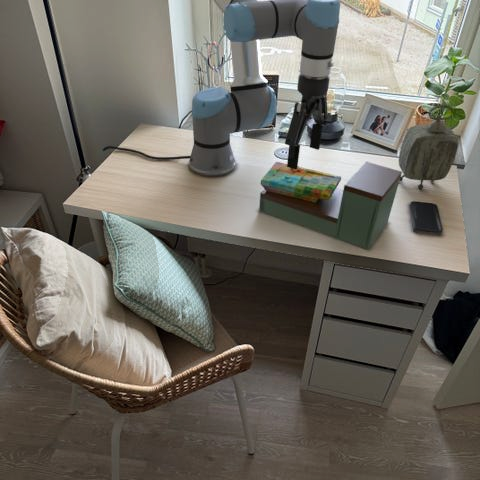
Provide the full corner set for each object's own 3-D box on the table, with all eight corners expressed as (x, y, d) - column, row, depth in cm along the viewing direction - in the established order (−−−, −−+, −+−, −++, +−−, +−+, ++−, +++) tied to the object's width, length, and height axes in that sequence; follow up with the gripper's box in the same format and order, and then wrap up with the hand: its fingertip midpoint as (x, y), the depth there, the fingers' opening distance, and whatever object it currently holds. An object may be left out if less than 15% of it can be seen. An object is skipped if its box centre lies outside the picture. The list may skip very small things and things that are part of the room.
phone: (436, 203, 139) (443, 231, 129) (435, 206, 140) (441, 235, 130) (409, 200, 140) (414, 228, 130) (408, 203, 141) (412, 231, 131)
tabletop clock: (435, 178, 152) (463, 99, 134) (444, 193, 146) (475, 112, 128) (392, 178, 152) (414, 99, 134) (399, 193, 146) (423, 111, 128)
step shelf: (259, 210, 137) (261, 159, 126) (283, 189, 146) (288, 139, 135) (368, 249, 125) (382, 196, 113) (387, 223, 134) (402, 171, 122)
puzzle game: (275, 159, 137) (341, 173, 132) (274, 174, 140) (339, 188, 135) (261, 177, 130) (330, 193, 124) (260, 192, 133) (327, 208, 127)
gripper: (305, 94, 103) (294, 181, 118) (349, 63, 118) (334, 144, 133) (275, 86, 106) (269, 172, 121) (322, 57, 121) (311, 137, 136)
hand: (303, 157), depth 127 cm, fingers open, 13 cm apart
